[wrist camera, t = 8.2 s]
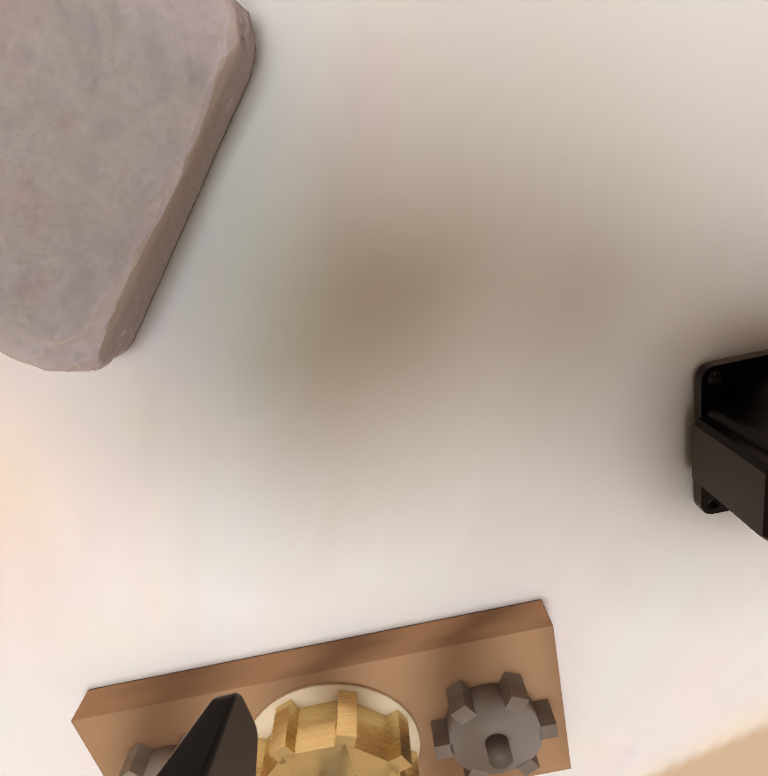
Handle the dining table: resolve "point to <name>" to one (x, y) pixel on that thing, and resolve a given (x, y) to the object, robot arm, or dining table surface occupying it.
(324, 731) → the wooden gear
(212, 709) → the robot arm
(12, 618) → the dining table surface
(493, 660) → the gear board
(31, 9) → the stone block
